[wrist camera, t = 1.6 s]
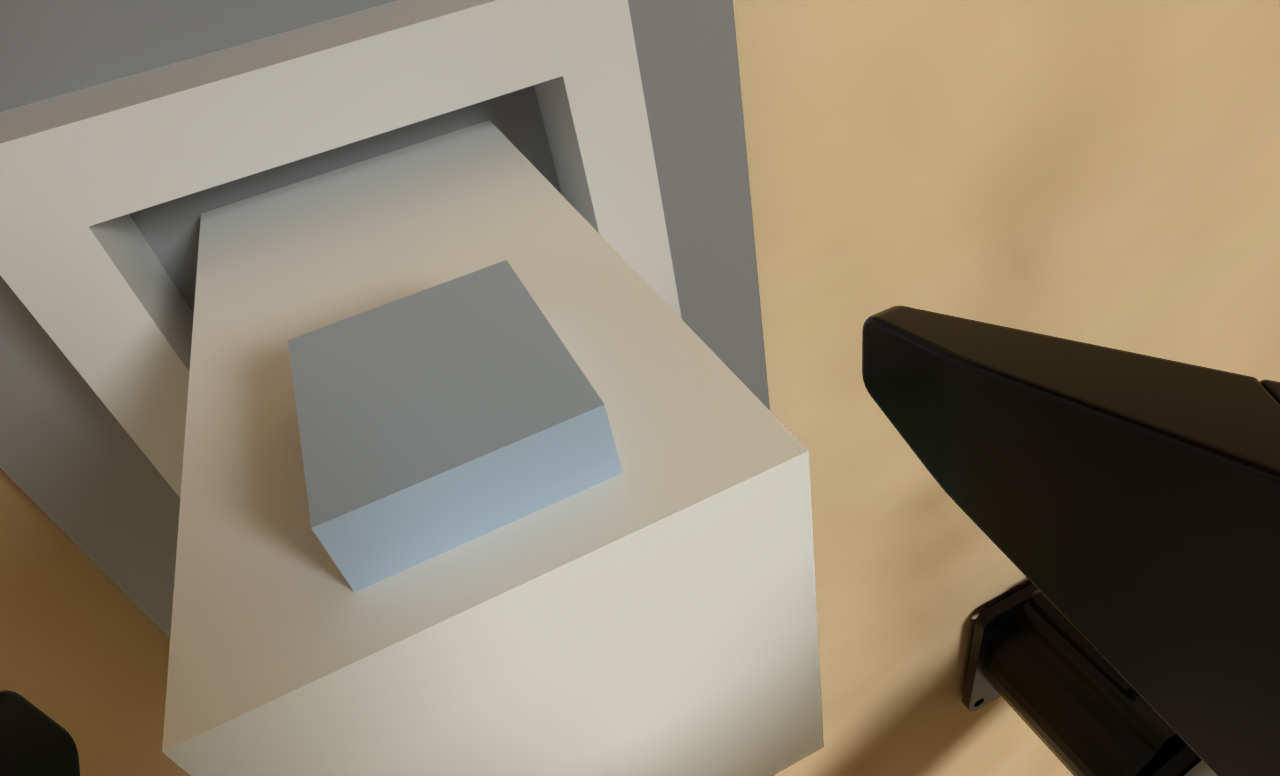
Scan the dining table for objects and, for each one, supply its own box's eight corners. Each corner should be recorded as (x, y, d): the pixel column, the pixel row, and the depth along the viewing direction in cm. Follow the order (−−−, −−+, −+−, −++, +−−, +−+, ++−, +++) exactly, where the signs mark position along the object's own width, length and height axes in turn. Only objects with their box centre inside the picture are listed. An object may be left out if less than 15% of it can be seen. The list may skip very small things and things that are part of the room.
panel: (776, 630, 23) (823, 697, 21) (385, 833, 20) (400, 929, 19) (686, -200, 11) (781, -210, 9) (-348, 51, 8) (-516, 111, 6)
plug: (557, 344, 13) (824, 746, 7) (330, 435, 13) (423, 973, 7) (476, 78, 11) (805, 379, 5) (176, 170, 10) (91, 692, 4)
